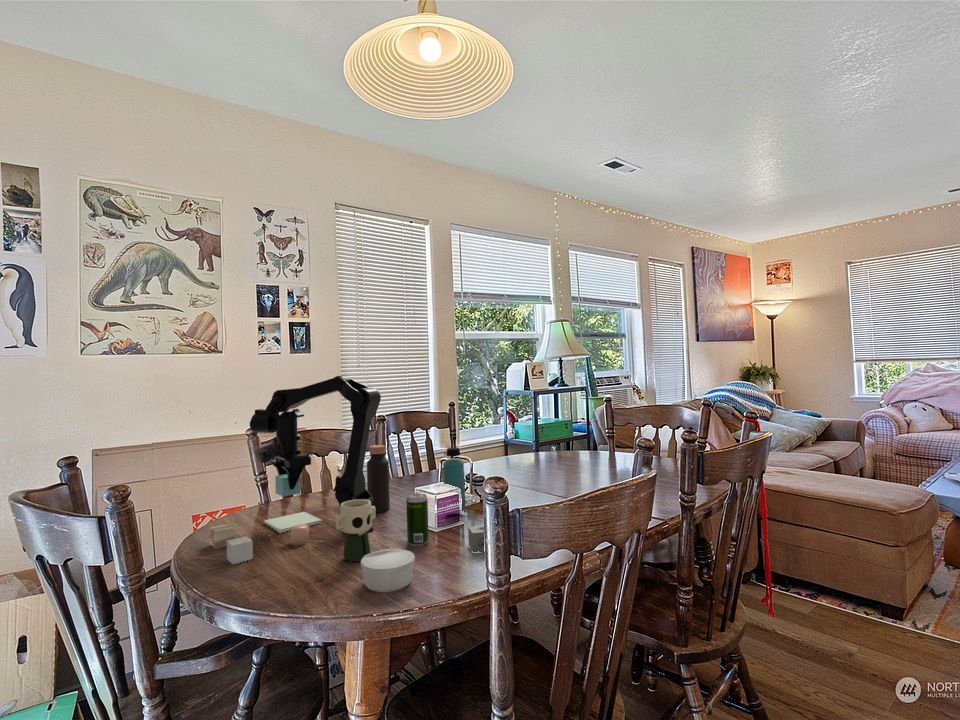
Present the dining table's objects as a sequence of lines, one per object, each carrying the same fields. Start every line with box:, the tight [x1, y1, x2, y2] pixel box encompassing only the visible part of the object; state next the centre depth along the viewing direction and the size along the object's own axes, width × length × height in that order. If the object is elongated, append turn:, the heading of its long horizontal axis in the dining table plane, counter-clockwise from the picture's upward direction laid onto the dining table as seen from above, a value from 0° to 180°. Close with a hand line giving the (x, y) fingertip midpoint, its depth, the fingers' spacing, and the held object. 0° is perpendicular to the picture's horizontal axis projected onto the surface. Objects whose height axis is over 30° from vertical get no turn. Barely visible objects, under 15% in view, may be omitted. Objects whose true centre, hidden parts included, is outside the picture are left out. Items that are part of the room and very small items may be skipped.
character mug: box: [335, 499, 377, 562], centre depth 119 cm, size 11×7×13 cm, turn 138°
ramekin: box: [360, 548, 416, 593], centre depth 105 cm, size 11×11×5 cm
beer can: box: [405, 492, 429, 547], centre depth 128 cm, size 5×5×12 cm
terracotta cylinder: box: [290, 524, 310, 546], centre depth 131 cm, size 4×4×4 cm
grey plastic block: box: [226, 535, 254, 565], centre depth 121 cm, size 4×4×4 cm
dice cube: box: [467, 524, 485, 554], centre depth 123 cm, size 5×5×5 cm
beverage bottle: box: [442, 447, 467, 512], centre depth 152 cm, size 6×7×20 cm
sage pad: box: [263, 511, 323, 534], centre depth 147 cm, size 12×12×1 cm
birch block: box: [209, 523, 235, 550], centre depth 131 cm, size 4×4×4 cm
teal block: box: [274, 474, 301, 497], centre depth 145 cm, size 5×5×5 cm
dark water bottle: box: [366, 444, 391, 513], centre depth 160 cm, size 7×7×20 cm
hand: (287, 487), depth 145 cm, fingers closed on teal block, 5 cm apart
